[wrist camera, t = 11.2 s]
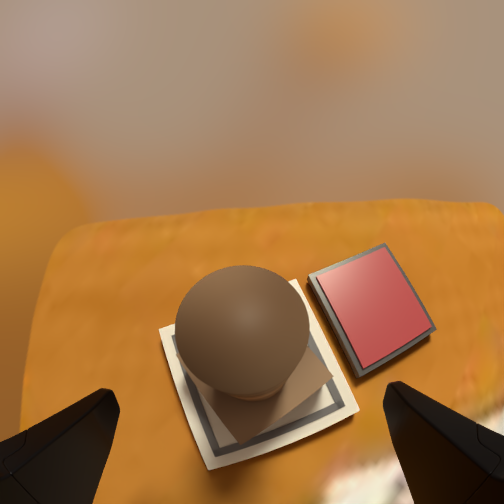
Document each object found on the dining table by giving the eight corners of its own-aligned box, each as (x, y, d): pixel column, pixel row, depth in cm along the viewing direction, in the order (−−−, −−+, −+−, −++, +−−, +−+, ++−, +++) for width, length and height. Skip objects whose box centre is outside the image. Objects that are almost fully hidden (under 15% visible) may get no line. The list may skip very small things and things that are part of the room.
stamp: (323, 381, 17) (395, 339, 7) (244, 439, 15) (213, 480, 5) (264, 311, 19) (262, 200, 10) (188, 363, 18) (104, 300, 8)
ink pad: (431, 332, 18) (437, 328, 18) (356, 378, 17) (361, 376, 17) (381, 247, 22) (385, 241, 21) (307, 279, 21) (308, 273, 20)
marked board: (355, 410, 16) (360, 410, 15) (211, 467, 15) (208, 470, 14) (294, 284, 21) (296, 278, 20) (163, 333, 20) (158, 328, 19)
